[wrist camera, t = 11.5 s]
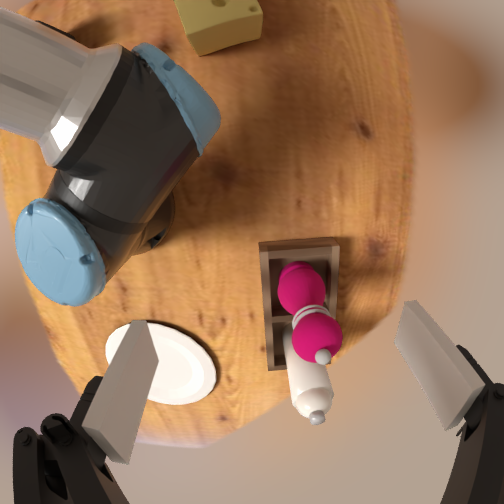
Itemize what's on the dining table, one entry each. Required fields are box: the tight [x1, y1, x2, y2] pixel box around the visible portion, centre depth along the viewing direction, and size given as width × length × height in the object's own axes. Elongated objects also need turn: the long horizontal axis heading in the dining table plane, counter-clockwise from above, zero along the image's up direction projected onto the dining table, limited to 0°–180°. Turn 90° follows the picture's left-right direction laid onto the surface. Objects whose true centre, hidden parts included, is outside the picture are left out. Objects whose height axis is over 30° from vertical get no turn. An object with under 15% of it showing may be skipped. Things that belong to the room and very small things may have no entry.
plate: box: [106, 322, 216, 405], centre depth 55 cm, size 25×25×2 cm
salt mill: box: [282, 322, 334, 425], centre depth 41 cm, size 6×6×20 cm
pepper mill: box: [278, 261, 343, 365], centre depth 37 cm, size 7×7×20 cm
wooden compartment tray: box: [259, 237, 340, 371], centre depth 47 cm, size 24×12×4 cm, turn 5°
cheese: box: [174, 0, 263, 56], centre depth 27 cm, size 10×11×10 cm
